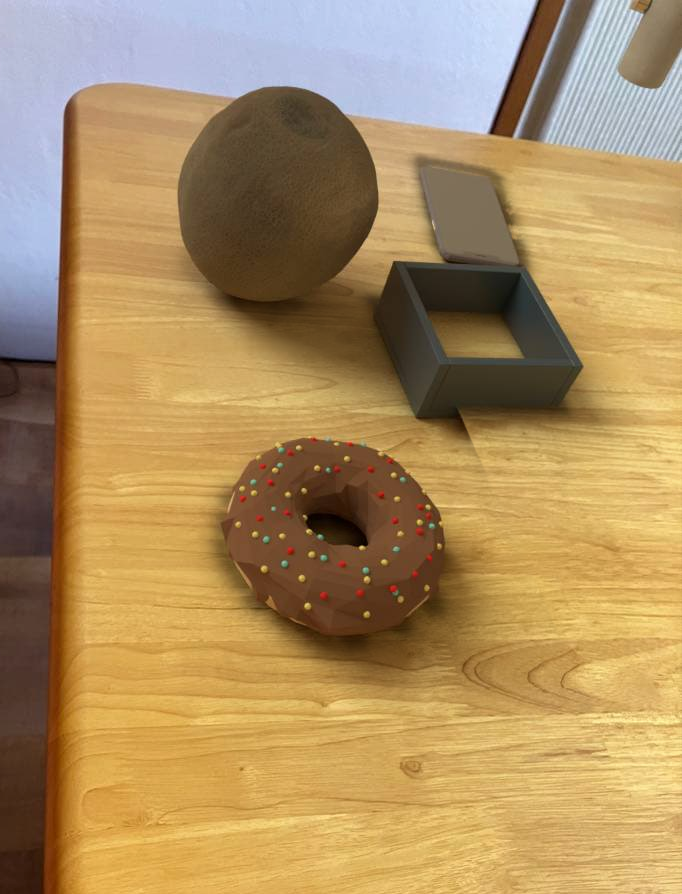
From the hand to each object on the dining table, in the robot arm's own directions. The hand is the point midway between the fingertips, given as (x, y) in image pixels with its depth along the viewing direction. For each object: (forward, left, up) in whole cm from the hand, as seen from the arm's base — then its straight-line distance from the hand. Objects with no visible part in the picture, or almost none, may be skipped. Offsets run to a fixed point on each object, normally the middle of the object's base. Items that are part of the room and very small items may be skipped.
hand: (669, 20), depth 80 cm
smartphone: (+17, +8, -17) cm, 25 cm away
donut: (+40, +46, -17) cm, 63 cm away
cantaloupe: (+39, +19, -17) cm, 47 cm away
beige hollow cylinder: (0, -1, -6) cm, 6 cm away
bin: (+24, +28, -17) cm, 40 cm away
